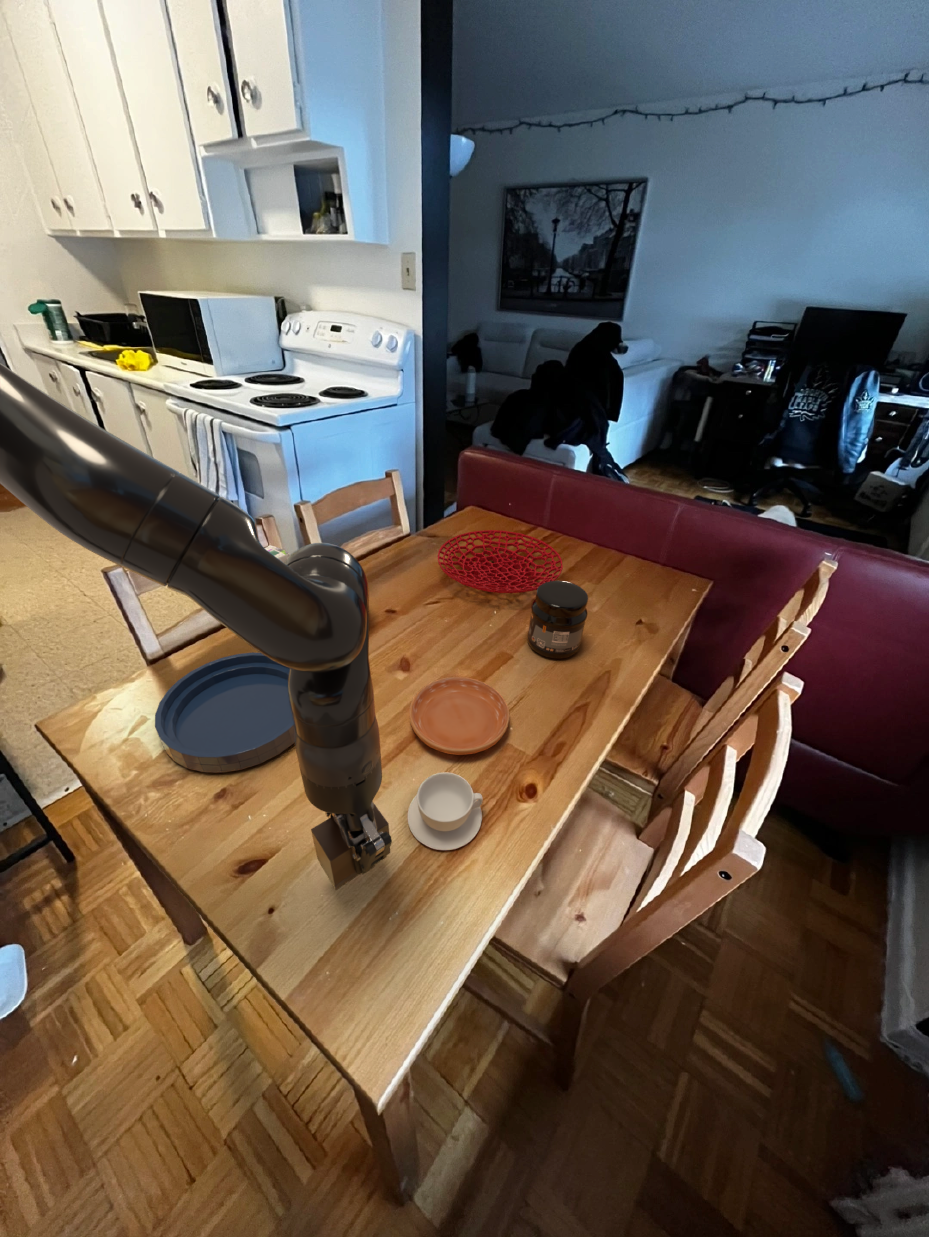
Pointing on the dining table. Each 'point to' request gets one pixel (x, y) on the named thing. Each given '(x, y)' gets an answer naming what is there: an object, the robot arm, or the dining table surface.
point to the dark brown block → (339, 849)
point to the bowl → (499, 563)
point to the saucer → (459, 715)
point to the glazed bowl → (227, 714)
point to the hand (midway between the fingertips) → (353, 849)
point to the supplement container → (557, 619)
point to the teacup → (445, 812)
